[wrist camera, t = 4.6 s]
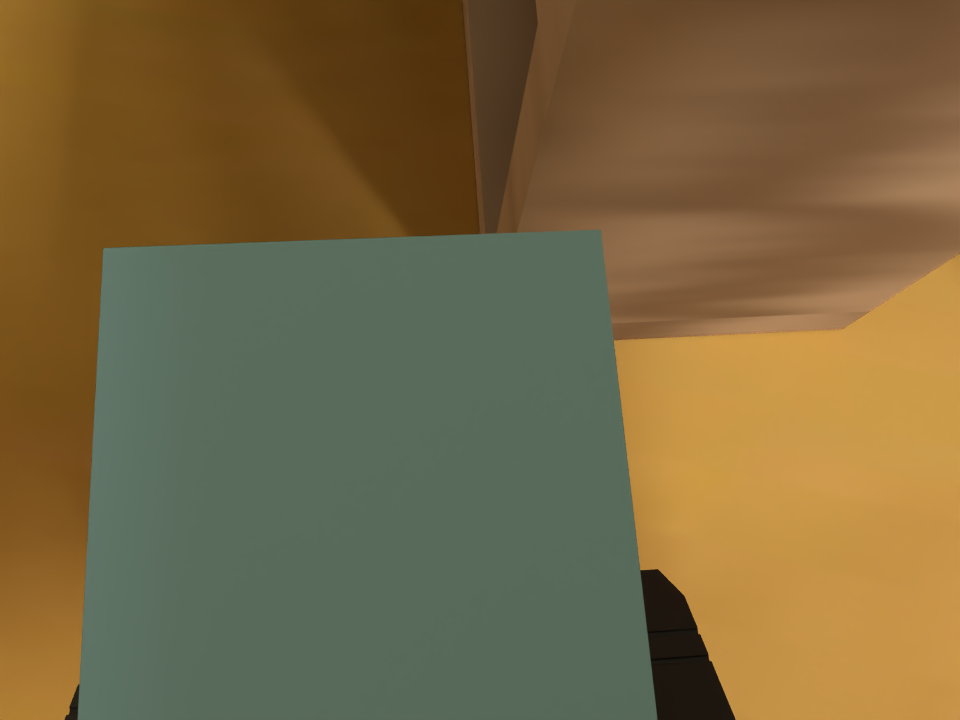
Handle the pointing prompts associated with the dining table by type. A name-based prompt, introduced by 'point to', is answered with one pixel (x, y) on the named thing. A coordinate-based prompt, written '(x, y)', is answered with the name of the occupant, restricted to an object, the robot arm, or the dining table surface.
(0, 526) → the dining table surface
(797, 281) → the cabinet
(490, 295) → the door
